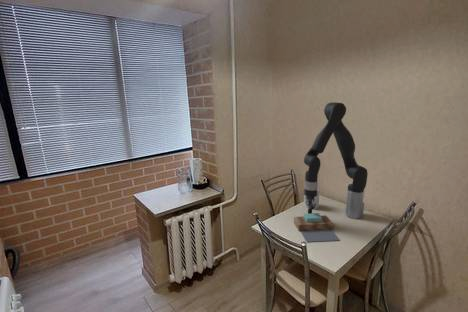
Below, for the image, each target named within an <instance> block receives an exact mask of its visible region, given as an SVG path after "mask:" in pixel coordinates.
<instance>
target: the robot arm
mask: <svg viewBox="0 0 468 312" xmlns="http://www.w3.org/2000/svg"><path fill="white" fill-rule="evenodd" d="M323 112H324V116H325V117H326V120H327V123H326V124H325V126H324V127H323V128H322V130H321V131H319V133H318V134H317V135H316V137H315V139H314V141H313V143H312V146H311V147H310V148H309V150H308V151H307V153H306V154H305V156H304V157H303V159H304V160H303V162H304V164H305V165H306V166H308V170H306V171H305V175H304V176H305V177H304V186H303V187H304V190H303V192H304V193H303V194H304V195H305V196H307V197H305V199H306V205H307V207H306V208H307V214H311V213H313V211H314V210H315V209H314V208H315V206H316V204H314V202H315V199H314V197H316V196H317V190H318V189H319V188H318V185H319V184H318V177H319V176H318V175H319V171H320V168H321V165H322V164H321V160H320V158H319V157H318V156H319V154H323V152H324V151H325V149H326V147H327V145H328V143H329V142H330V139H331V137H332V135H333V136H334V140H335V143H336V145H337V148H338V150H339V153H340V156H341V159H342V161H343V164H344V169H345V173H346V175H347V177H348V178H349V179H352V183H349V184H348V185H347V193H346V205H345V206H346V207H345V215H346V217H347V218H351V219H354V220H355V219H356V220H358V219H361V218H363V217H364V210H365V202H364V196H365V195H364V194H365V189H366V186H367V181H368V175H369V174H368V169H367V168H365V167H364V166H362V165H359V164H358V163H357V161H356V158H355V152H356V151H355V150H356V144H355V140H354V137H353V134H351V132H350V130H349V129H348V128H347V127H346V126H345V123H343V119H344V116H345V115H346V112H347V106H346V105H345V103H343V102H328V103H327V104H326V105H325V106H324V110H323ZM304 195H303V196H304ZM313 209H314V210H313Z"/></svg>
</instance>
